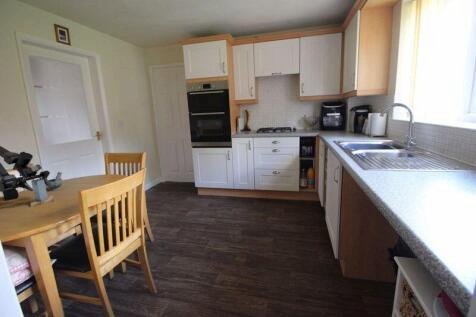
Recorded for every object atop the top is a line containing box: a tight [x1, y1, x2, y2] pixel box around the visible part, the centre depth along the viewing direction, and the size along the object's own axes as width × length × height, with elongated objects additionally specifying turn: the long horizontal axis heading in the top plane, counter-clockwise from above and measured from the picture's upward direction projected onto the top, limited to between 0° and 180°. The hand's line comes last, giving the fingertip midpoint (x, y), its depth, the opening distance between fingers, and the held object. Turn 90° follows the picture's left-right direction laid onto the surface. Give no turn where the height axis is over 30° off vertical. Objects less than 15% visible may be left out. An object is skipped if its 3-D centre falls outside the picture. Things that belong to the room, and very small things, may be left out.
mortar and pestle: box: [45, 171, 63, 192], centre depth 167 cm, size 11×9×12 cm
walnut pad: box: [29, 195, 55, 207], centre depth 144 cm, size 11×10×1 cm
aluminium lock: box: [30, 178, 48, 201], centre depth 142 cm, size 4×5×13 cm
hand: (40, 187), depth 142 cm, fingers open, 9 cm apart
